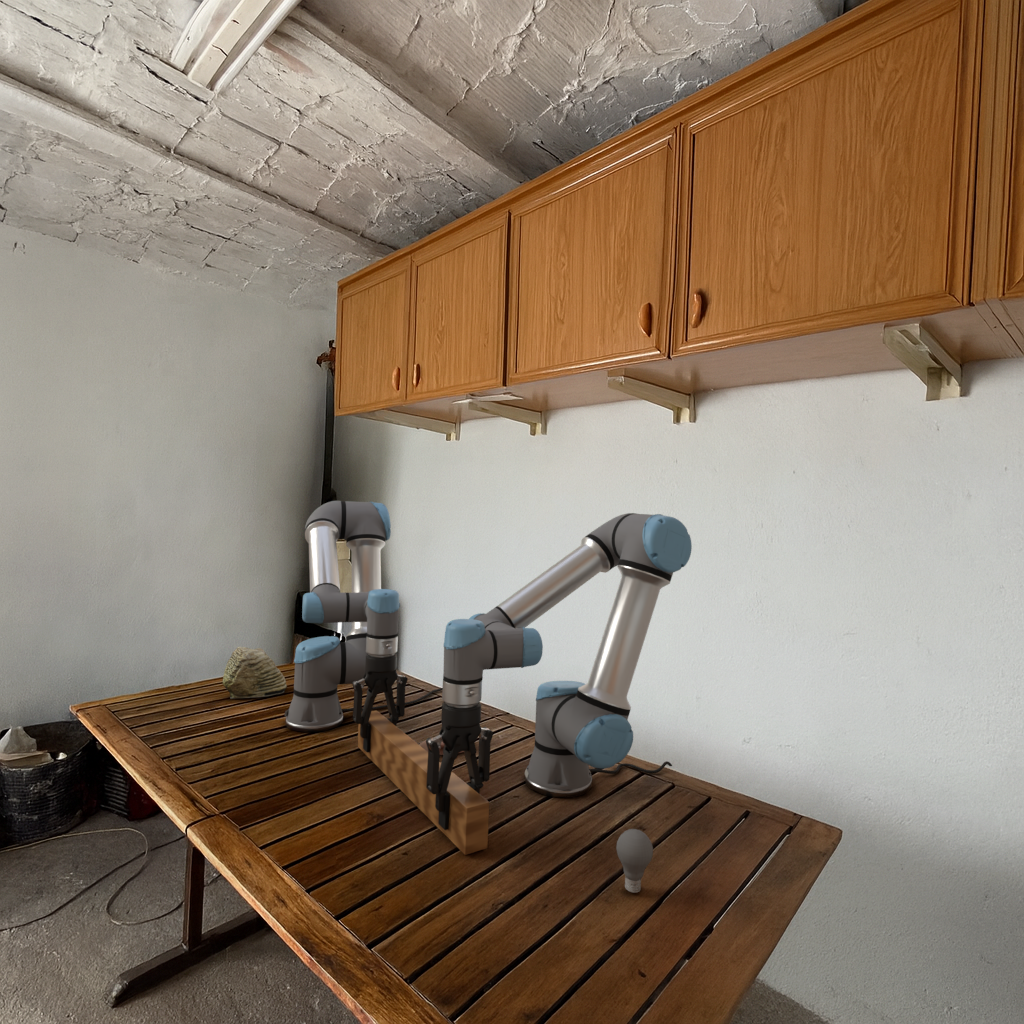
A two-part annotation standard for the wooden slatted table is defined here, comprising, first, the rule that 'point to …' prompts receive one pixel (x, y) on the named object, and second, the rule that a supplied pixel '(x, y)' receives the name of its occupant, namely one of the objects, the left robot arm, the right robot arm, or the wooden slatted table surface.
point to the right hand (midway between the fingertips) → (456, 822)
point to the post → (410, 775)
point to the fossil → (252, 674)
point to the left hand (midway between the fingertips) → (377, 747)
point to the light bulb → (634, 857)
